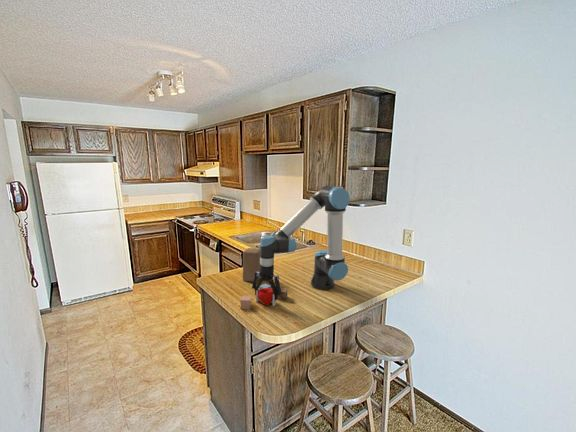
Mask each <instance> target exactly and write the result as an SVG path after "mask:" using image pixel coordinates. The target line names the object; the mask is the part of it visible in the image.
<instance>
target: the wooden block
mask: <svg viewBox="0 0 576 432" xmlns="http://www.w3.org/2000/svg"><path fill="white" fill-rule="evenodd" d="M257 271H258V272H260V248H253V247H252V248H251V247H248V248H246V249H245V250H244V251H243V252H242V281H243V282H252V283H253V281H254V277H255V272H257ZM260 278H261V276H260V275H259V277H258V281H260Z"/></svg>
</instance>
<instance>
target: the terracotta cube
mask: <svg viewBox="0 0 576 432" xmlns="http://www.w3.org/2000/svg"><path fill="white" fill-rule="evenodd" d="M251 306H252V295H241V297H240V309H241V308H244V309H243V310H251Z"/></svg>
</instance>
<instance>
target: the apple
mask: <svg viewBox="0 0 576 432" xmlns="http://www.w3.org/2000/svg"><path fill="white" fill-rule="evenodd" d="M273 294H274V292H273V290H272V288H271V289H270V288H262V289H260V290H259V292H258V298H259V301H260V302H261V303H262V304H263V305H266V306H267V305H271V303H273Z"/></svg>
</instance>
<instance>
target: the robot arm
mask: <svg viewBox="0 0 576 432" xmlns="http://www.w3.org/2000/svg"><path fill="white" fill-rule="evenodd" d="M350 199H351V197H350V194H349V191H347V189H345V188H344V187H340V186H336V185H324V186H322V187H320V188H319V189H318V190H317V191H315V193H313V194H312V195H311V196H310V197H309V200H308V201H307V202H306V203H305V204H304V205H303V206H302V207H301V208H300V209H299V210H298V211H296V213H295V214H293V216H291V218H290V219H288V221H287V222H286V223H285V224H283V226H281V227H280V228H279V229H278V230H277V231H274V232H272V233H271V234H270V235H268V234H267V235H266V234H265V235H262V236H261V237H260V243H259V247H260V248H259V249H260V272H258V271H257V272H255V277H254V281H253V282H252V285H251V289H253V290H254V295H255V302H256V303H258V302H259V301H260V300H259V298H258V292H259V290H260V289H259V287H260V286H261V285H262V284H263V283H264V282H267V283H268V285H270V286H271V289H272V290H273V292H274V294H273V301H272V307H275V306H276V305H277V300H279V299H278V295H279V294H280V293H281V288H282V287H281V285H280V275H275V273H274V271H275V254H285V253H294V252H295V251H296V250H297V241H296V240H295V238H291V237H292V236H293V235H294V234H295V233H296V232H297V230H299V229H300V228H301V227H302V226H303V225H304V224H305V223H306V222H307V221H308V220H310V218H311V217H312V216H313V215H314V214H316V212H318V211H319V210H322V209H323V208H324V211H325V212H326V213H327V234H326V235H327V239H326V241H327V245H326V246H327V247H326V248H327V249H318V250H316V251H315V253H314V264H313V265H314V267H313V275H312V277H311V280H310V286H311V287H312V288H315V290H321V291H322V290H323V291H327V290H332V289H333V287H334V288H335V282H336V281H341V280H343V279H344V278H345V277H346V276H347V275H348V272H349V266H348V265H347V263H346V261H345V257H346V256H345V255H344V254H343V231H344V229H343V228H344V227H343V226H344V213H345V212H346V211H347V209H346V208H348V205H349V203H350ZM259 275H260V276H261V277H260V278H259V280H258V277H259Z"/></svg>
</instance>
